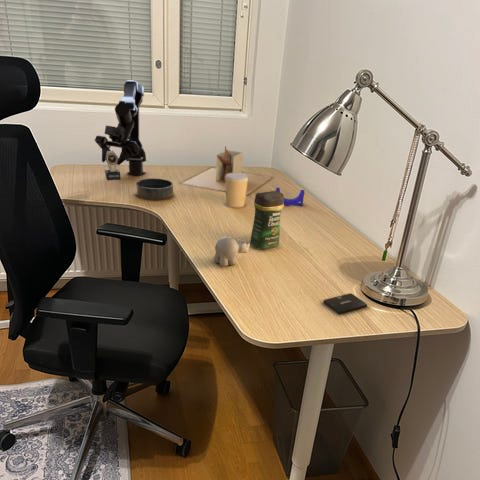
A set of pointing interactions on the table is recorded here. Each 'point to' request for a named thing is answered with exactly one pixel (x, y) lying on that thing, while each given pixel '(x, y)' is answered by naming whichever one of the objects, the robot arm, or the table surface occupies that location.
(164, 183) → the bowl
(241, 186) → the coffee cup
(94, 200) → the table surface
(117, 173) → the watch
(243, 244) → the chubby cartoon animal
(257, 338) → the table surface
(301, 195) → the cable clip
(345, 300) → the solid state drive
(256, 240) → the coffee jar
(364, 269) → the table surface
